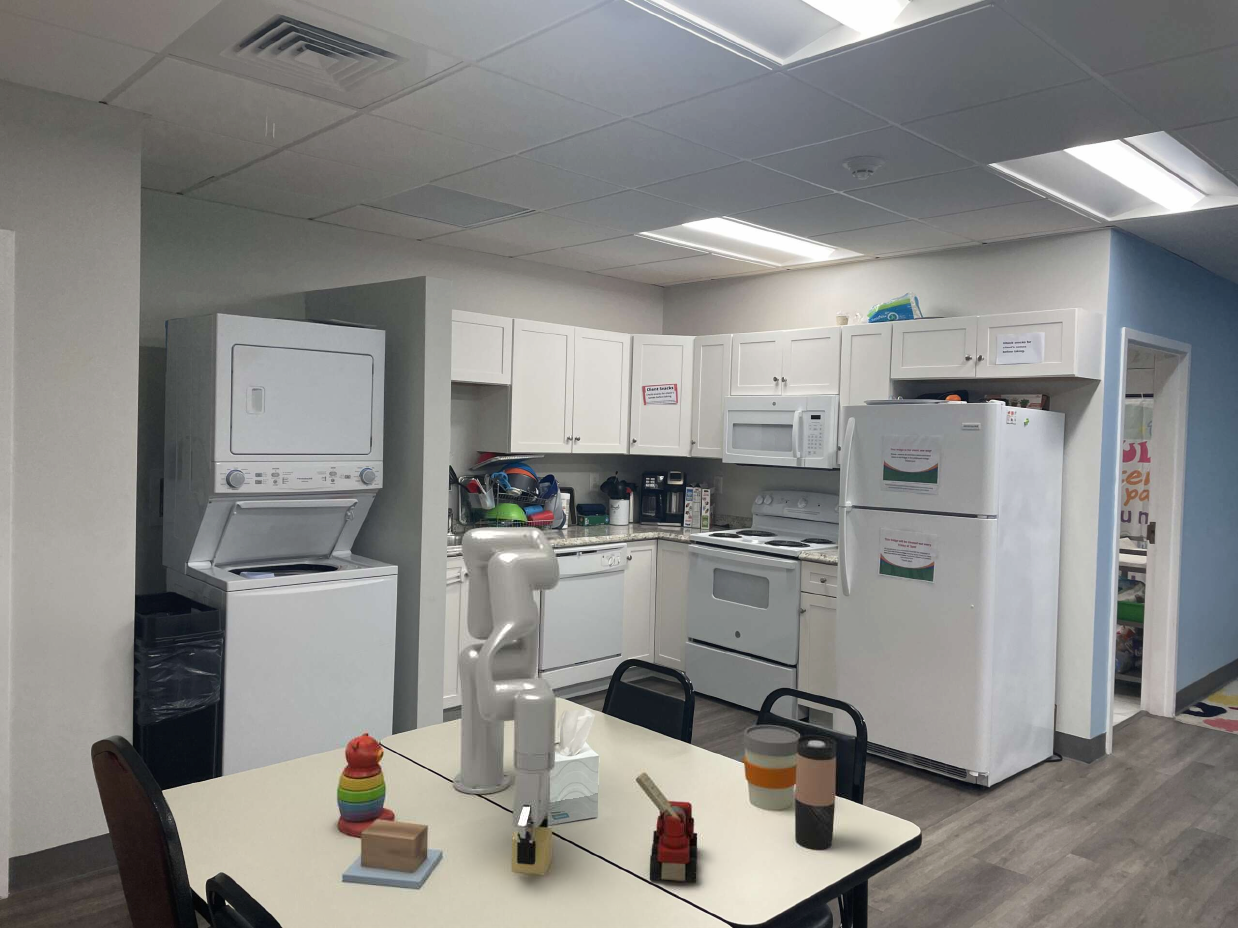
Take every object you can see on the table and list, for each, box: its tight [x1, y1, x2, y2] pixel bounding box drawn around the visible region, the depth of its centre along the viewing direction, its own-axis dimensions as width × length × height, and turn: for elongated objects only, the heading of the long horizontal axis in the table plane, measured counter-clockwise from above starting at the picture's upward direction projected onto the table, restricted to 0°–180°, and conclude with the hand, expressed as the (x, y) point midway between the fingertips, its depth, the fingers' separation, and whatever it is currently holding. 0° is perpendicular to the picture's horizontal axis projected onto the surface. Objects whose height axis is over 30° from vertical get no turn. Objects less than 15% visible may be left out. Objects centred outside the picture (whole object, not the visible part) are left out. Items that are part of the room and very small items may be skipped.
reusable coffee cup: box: [742, 724, 801, 811], centre depth 197 cm, size 13×13×15 cm
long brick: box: [360, 819, 429, 873], centre depth 163 cm, size 6×10×6 cm, turn 78°
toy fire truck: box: [635, 771, 698, 883], centre depth 167 cm, size 11×16×18 cm
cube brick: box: [511, 827, 553, 875], centre depth 166 cm, size 6×6×6 cm
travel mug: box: [794, 734, 837, 851], centre depth 178 cm, size 8×8×20 cm
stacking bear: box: [336, 732, 396, 838], centre depth 180 cm, size 11×10×18 cm
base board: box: [341, 848, 444, 890], centre depth 163 cm, size 12×14×1 cm
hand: (532, 851), depth 165 cm, fingers open, 9 cm apart
